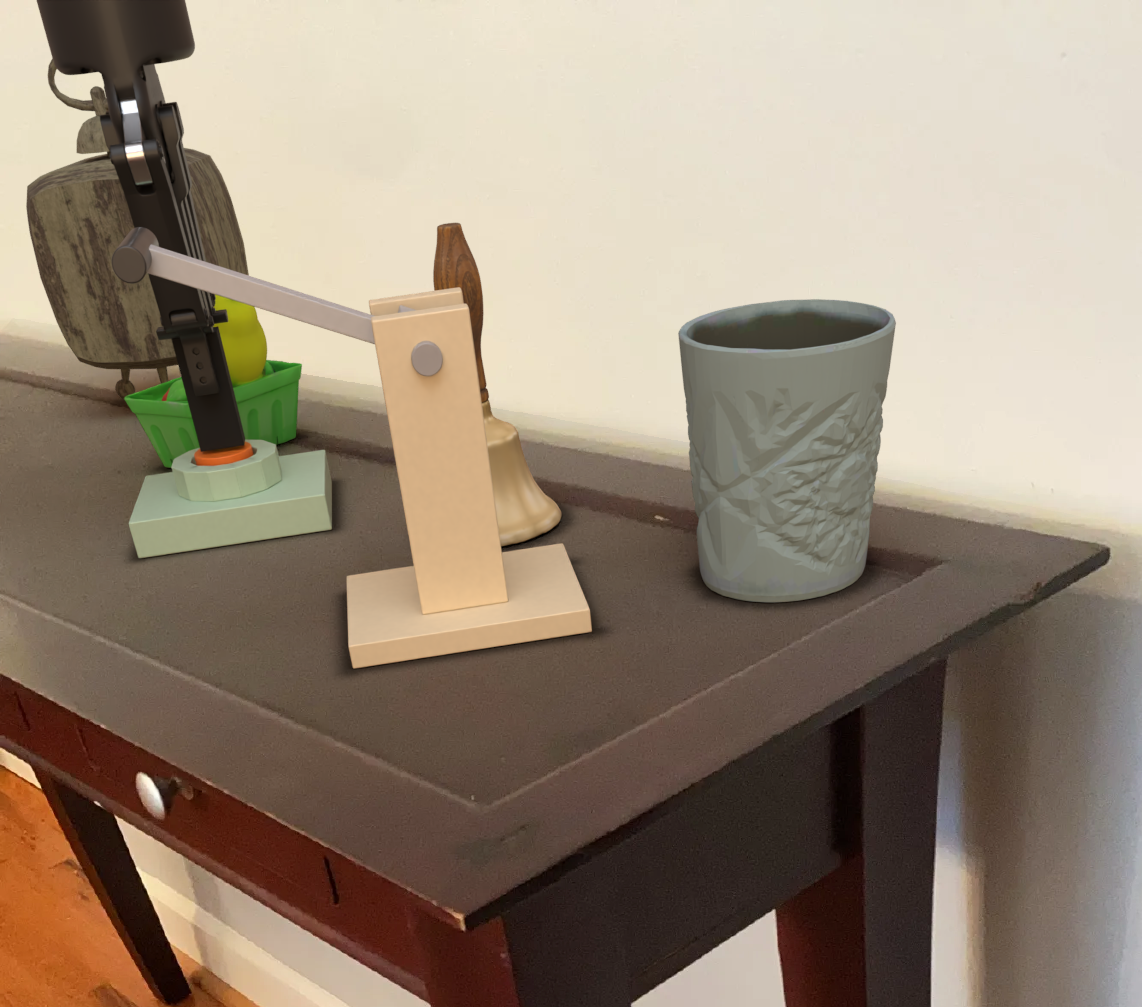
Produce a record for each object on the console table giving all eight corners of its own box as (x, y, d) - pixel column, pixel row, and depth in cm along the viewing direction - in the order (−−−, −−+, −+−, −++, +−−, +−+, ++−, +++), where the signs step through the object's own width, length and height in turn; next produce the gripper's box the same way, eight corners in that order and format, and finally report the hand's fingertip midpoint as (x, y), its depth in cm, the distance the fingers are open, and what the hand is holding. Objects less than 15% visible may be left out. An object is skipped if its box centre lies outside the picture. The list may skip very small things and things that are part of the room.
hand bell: (401, 548, 82) (346, 243, 72) (460, 501, 88) (417, 213, 78) (529, 552, 79) (490, 236, 69) (582, 503, 85) (553, 205, 75)
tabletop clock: (274, 382, 118) (196, 25, 103) (244, 412, 111) (155, 34, 96) (115, 397, 121) (14, 49, 105) (75, 427, 113) (-38, 58, 98)
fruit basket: (249, 426, 108) (211, 264, 101) (333, 435, 103) (299, 266, 96) (139, 472, 101) (90, 301, 94) (224, 483, 96) (179, 304, 89)
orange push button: (199, 490, 86) (191, 461, 85) (203, 474, 89) (196, 445, 88) (256, 482, 86) (249, 453, 85) (259, 465, 89) (252, 437, 88)
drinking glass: (687, 546, 77) (675, 309, 70) (872, 529, 76) (879, 288, 69) (694, 616, 69) (681, 358, 62) (899, 599, 68) (911, 334, 61)
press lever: (107, 289, 59) (114, 228, 58) (122, 267, 64) (129, 210, 62) (450, 395, 64) (463, 340, 62) (442, 368, 68) (455, 316, 67)
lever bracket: (352, 669, 68) (284, 345, 59) (350, 596, 76) (289, 301, 67) (592, 632, 69) (560, 305, 60) (565, 564, 77) (533, 266, 68)
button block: (138, 559, 85) (118, 493, 83) (154, 509, 93) (137, 447, 91) (332, 530, 86) (318, 463, 83) (332, 482, 94) (319, 420, 91)
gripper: (165, -35, 67) (279, 465, 82) (187, -34, 78) (285, 410, 92) (10, -14, 67) (152, 484, 81) (53, -15, 77) (172, 427, 92)
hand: (223, 444), depth 87 cm, fingers closed
